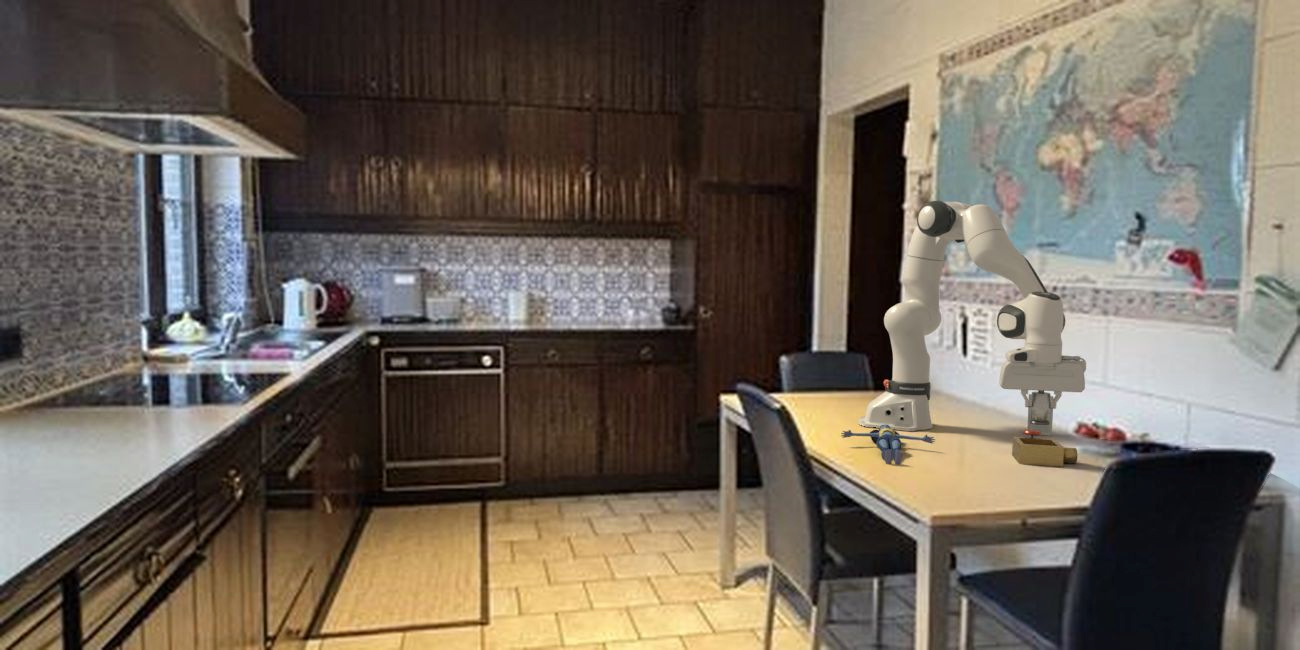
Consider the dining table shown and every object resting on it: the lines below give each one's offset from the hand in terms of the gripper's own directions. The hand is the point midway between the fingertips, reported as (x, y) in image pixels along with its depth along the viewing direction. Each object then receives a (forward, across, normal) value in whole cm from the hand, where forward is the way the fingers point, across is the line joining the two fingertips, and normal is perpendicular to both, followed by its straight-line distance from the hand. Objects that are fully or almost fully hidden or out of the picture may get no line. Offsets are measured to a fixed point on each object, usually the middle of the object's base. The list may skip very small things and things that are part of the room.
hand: (1040, 407), depth 223 cm
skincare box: (+14, -8, -39) cm, 42 cm away
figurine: (+14, +38, +1) cm, 40 cm away
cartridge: (+4, 0, 0) cm, 4 cm away
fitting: (+14, -2, -3) cm, 14 cm away
